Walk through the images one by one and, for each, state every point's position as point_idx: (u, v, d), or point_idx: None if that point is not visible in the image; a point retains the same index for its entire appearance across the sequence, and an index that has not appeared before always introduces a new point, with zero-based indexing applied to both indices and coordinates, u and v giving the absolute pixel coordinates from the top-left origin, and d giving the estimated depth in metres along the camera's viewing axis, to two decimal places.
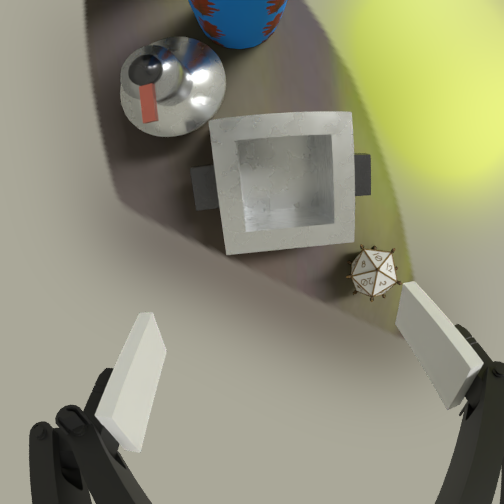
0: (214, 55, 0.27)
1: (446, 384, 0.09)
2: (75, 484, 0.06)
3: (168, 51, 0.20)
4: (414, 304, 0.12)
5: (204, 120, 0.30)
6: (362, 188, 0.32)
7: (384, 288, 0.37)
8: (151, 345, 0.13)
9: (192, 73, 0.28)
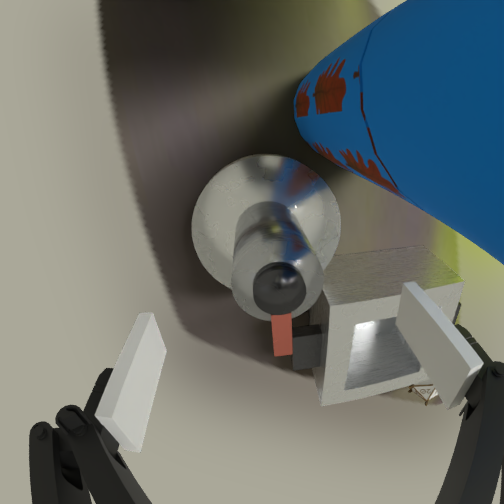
0: (330, 195, 0.23)
1: (446, 384, 0.09)
2: (75, 484, 0.06)
3: (313, 257, 0.16)
4: (414, 304, 0.12)
5: None
6: None
7: (438, 394, 0.34)
8: (151, 345, 0.13)
9: (299, 219, 0.24)
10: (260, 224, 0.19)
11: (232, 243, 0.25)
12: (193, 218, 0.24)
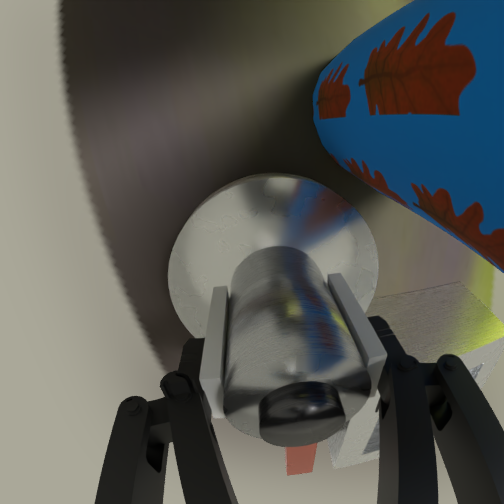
0: (368, 235, 0.16)
1: None
2: (153, 464, 0.08)
3: (361, 370, 0.09)
4: (334, 294, 0.14)
5: None
6: None
7: None
8: None
9: (322, 270, 0.17)
10: (270, 302, 0.11)
11: None
12: (170, 269, 0.16)
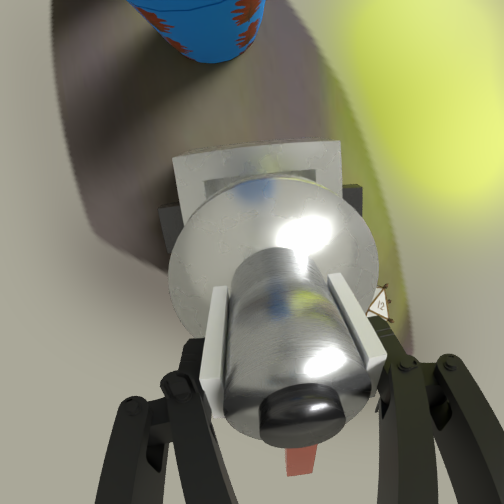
0: (368, 237, 0.16)
1: None
2: (153, 464, 0.08)
3: (361, 372, 0.09)
4: (334, 294, 0.14)
5: None
6: None
7: None
8: None
9: (322, 271, 0.17)
10: (270, 304, 0.11)
11: None
12: (170, 270, 0.16)
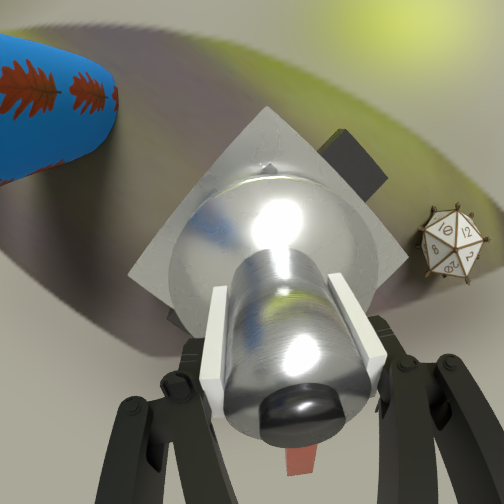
0: (367, 236, 0.16)
1: None
2: (153, 464, 0.08)
3: (361, 372, 0.09)
4: (334, 294, 0.14)
5: None
6: (371, 180, 0.19)
7: (474, 258, 0.22)
8: None
9: (322, 271, 0.17)
10: (270, 304, 0.11)
11: None
12: (170, 270, 0.16)
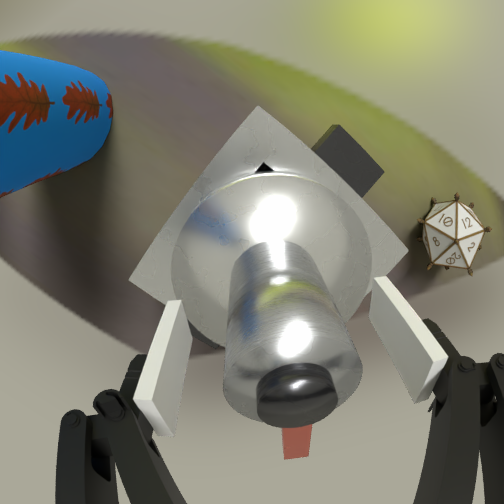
0: (361, 230, 0.17)
1: (412, 377, 0.10)
2: (103, 474, 0.07)
3: (351, 353, 0.09)
4: (383, 298, 0.13)
5: None
6: (368, 175, 0.19)
7: (476, 249, 0.22)
8: (181, 331, 0.14)
9: (318, 263, 0.17)
10: (267, 290, 0.12)
11: (226, 295, 0.18)
12: (172, 262, 0.17)
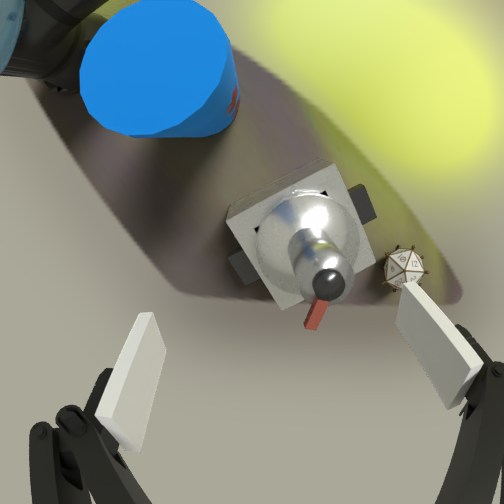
0: (358, 239, 0.34)
1: (446, 384, 0.09)
2: (75, 484, 0.06)
3: (352, 272, 0.26)
4: (414, 304, 0.12)
5: None
6: (368, 215, 0.37)
7: (416, 281, 0.41)
8: (151, 345, 0.13)
9: None
10: (323, 242, 0.28)
11: (284, 247, 0.34)
12: (266, 220, 0.33)
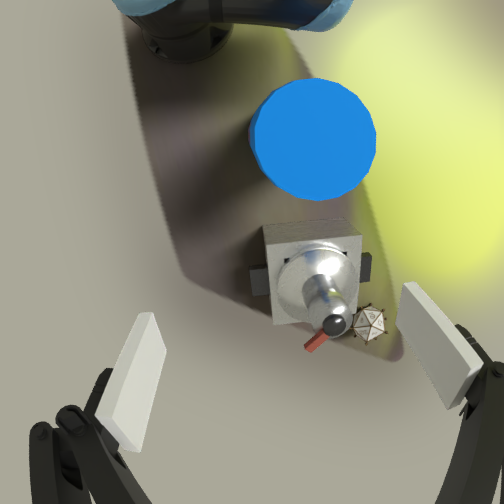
0: (353, 294, 0.44)
1: (446, 384, 0.09)
2: (75, 484, 0.06)
3: (351, 322, 0.36)
4: (414, 304, 0.12)
5: None
6: (364, 278, 0.48)
7: (375, 336, 0.53)
8: (151, 345, 0.13)
9: None
10: (337, 293, 0.38)
11: (302, 282, 0.43)
12: (299, 258, 0.41)
